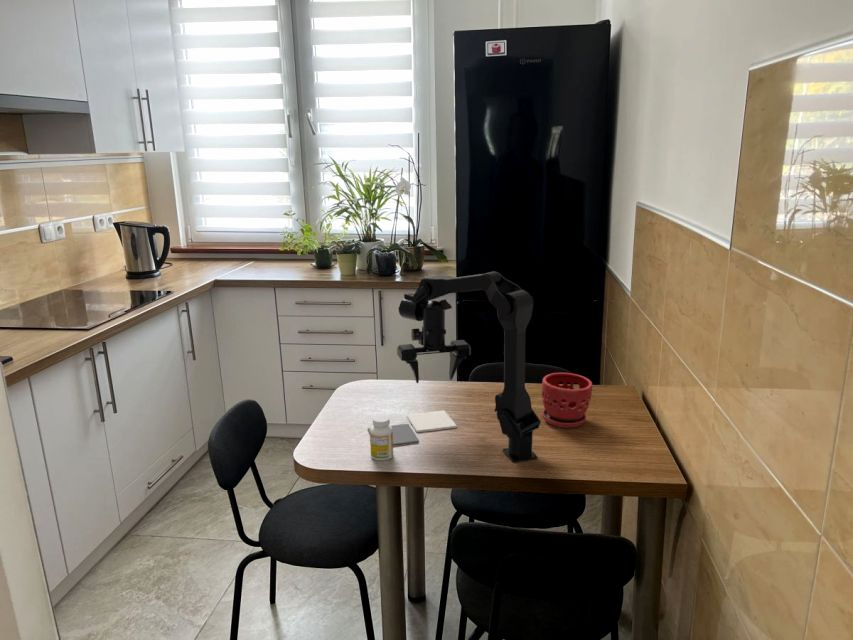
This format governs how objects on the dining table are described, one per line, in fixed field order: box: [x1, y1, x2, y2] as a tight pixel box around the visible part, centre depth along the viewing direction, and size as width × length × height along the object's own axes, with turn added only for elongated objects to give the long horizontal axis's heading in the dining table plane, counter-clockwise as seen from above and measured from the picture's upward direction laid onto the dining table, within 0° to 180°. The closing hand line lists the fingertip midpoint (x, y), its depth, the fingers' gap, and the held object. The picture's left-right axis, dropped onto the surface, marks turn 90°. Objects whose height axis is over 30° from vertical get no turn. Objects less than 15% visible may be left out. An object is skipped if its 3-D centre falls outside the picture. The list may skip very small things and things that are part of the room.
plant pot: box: [541, 372, 593, 428], centre depth 172 cm, size 13×13×12 cm
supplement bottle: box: [369, 415, 394, 461], centre depth 153 cm, size 5×5×10 cm
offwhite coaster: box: [406, 409, 458, 433], centre depth 174 cm, size 11×11×1 cm
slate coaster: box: [367, 423, 420, 447], centre depth 165 cm, size 11×11×1 cm
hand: (434, 381), depth 170 cm, fingers open, 9 cm apart
